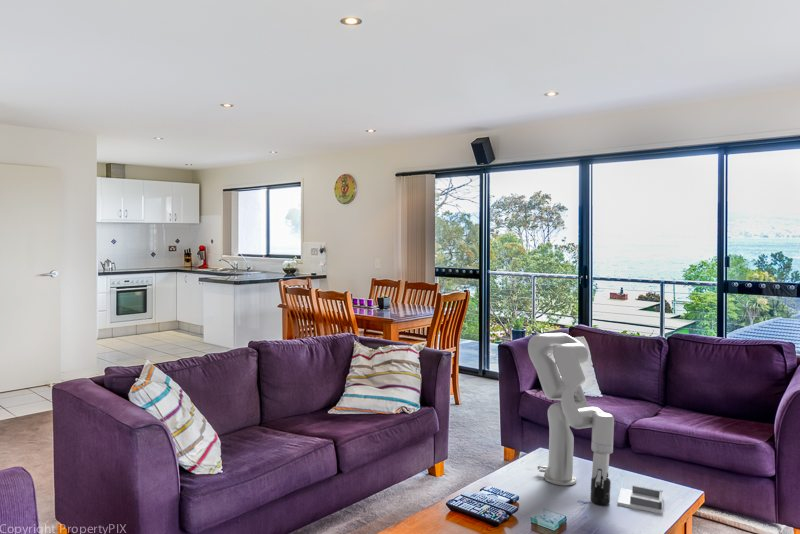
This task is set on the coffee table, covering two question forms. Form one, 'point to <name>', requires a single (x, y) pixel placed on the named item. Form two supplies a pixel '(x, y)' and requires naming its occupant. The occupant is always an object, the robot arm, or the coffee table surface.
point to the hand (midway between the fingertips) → (600, 493)
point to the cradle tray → (642, 499)
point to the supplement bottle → (606, 492)
